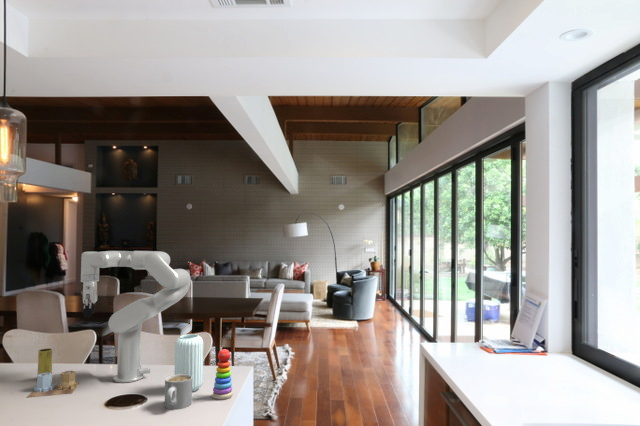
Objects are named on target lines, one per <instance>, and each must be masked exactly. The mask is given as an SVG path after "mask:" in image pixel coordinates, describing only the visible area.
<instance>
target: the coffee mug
mask: <svg viewBox="0 0 640 426" xmlns="http://www.w3.org/2000/svg"><path fill="white" fill-rule="evenodd" d="M192 400H193V392H192V376H191V375H187V374H178V375H175V374H173V375H169V376H167V377H165V378H164V408H165V409H168V410H174V411H175V410H183V409H186V408H188V407H190V406H191V405H192V403H193V401H192Z"/></svg>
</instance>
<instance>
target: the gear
mask: <svg viewBox="0 0 640 426" xmlns="http://www.w3.org/2000/svg"><path fill="white" fill-rule="evenodd" d="M42 374H48V375H45V376H42ZM55 385H56V384H54V383H53V372H52V373H41V374H39V375H37V376H36V385H35V387H34V388H33V390H34V391H36V392H42V391H43V392H45V391H48V390H52V389H54V387H55Z"/></svg>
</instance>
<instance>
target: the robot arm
mask: <svg viewBox="0 0 640 426" xmlns="http://www.w3.org/2000/svg"><path fill="white" fill-rule="evenodd" d="M80 263H81V264H80V265H81V267H80V282H81V283H83V284H82V303H83V311H82V313H83V314H82V316H83V318H87V319H88V318H91V317H92V315H93V314H95V310H96V309H95V305H96V302H97V301H98V282H99V281H100V268H101V269H105V268H112V267H113V268H114V267H115V268H116V267H121V268H122V267H123V268H124V267H127V268H131V269H133V270H146V271H147V273H149V275H151V276H152V277H153V279H154V280H156V282H157V283H159V285H160V286H161V287H163V288H162V289H160V290H159V291H158V292H155V293H154V294H152V295H149V296H148V297H143V298H140V299H138V300H137V299H136V300H135V301H133V302H131V303H130V304H127V305H126V306H124V307H123V308H121V309H119V310H118V311H115V312H114V313H113V314H111V315H110V317H109V319H108V324H107V325H108V328H109V331H111V332H112V333H115V334H118V339H117V363H116V364H117V372H116V374H115V375H114V376H113V379H112V380H113V381H114V382H116V383H131V382H137V381H139V380H141V379H143V378H144V374H145V375H147V374H151V368H148V367H146V368H143V367H142V365H141V341H142V340H141V339H142V328H143V323H144V322H145V321H148V320H150V319H152V318H155V316H157V315H158V314H160V313H161V312H163V311H165V310H167V309H168V308H170V307H171V306H173V305H175V304H176V303H178V302H179V301H181V299H183V298H184V297H185V296H186V294H187V293H188V291H189V290H190V287H191V280H192V279H191V275H190V273H189V272H188V271H187V270H186V269H184V268H175V269H173V268H172V267H171V266H170V263H171V256H170V255H169V253H167V252H165V251H160V250H159V251H158V250H157V251H156V250H154V251H153V250H133V251H132V250H130V251H129V250H106V251H84V252H82V253H81V261H80Z"/></svg>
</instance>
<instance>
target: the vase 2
mask: <svg viewBox="0 0 640 426" xmlns="http://www.w3.org/2000/svg"><path fill="white" fill-rule="evenodd" d="M178 374H187V375H191V376H192V393H193V392H196V391H197V390H199V389H200V388H201V387H202V386H203V381H204V340H203V338H202V336H200V335H199V334H196V333H195V334H194V333H190V334H181V335H180V336H179V337H178V338H177V339H176V340H175V342H174V375H178Z"/></svg>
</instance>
